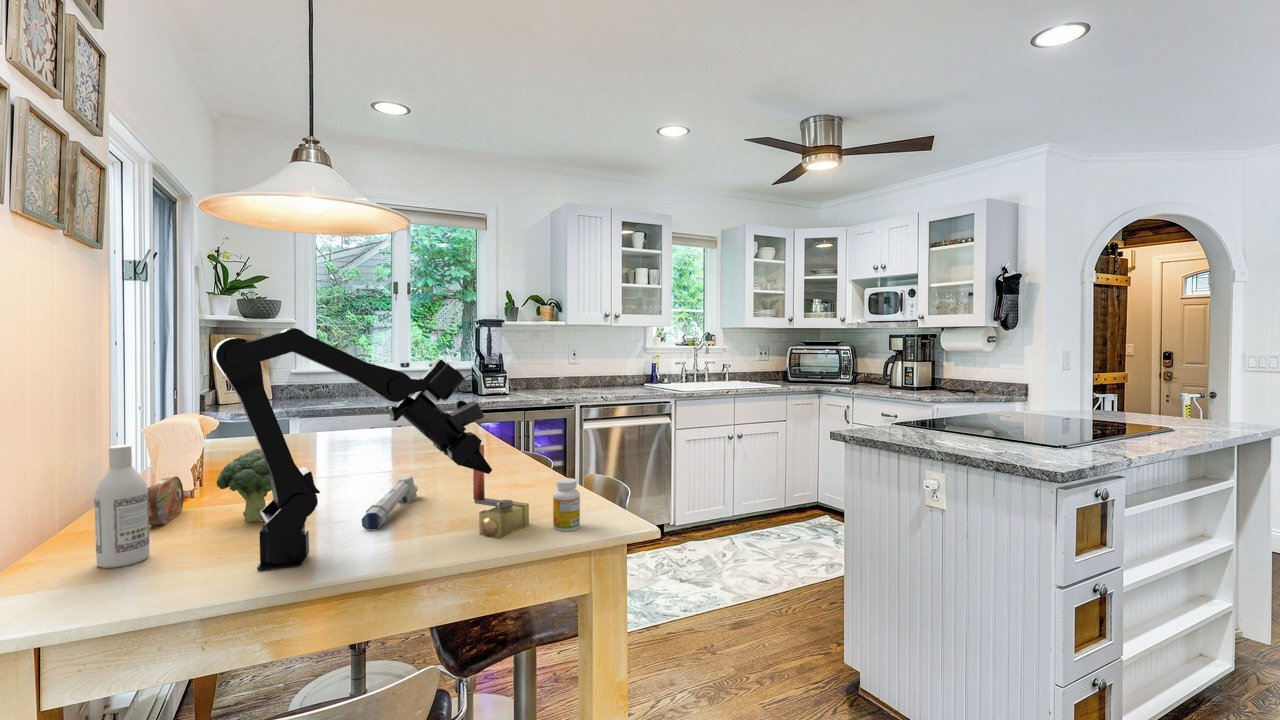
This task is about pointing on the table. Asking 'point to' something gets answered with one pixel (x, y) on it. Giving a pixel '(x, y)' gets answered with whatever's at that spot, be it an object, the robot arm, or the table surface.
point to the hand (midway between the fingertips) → (485, 468)
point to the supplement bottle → (566, 505)
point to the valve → (503, 520)
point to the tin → (165, 500)
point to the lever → (480, 492)
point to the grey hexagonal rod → (390, 502)
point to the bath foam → (121, 512)
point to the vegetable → (248, 482)
